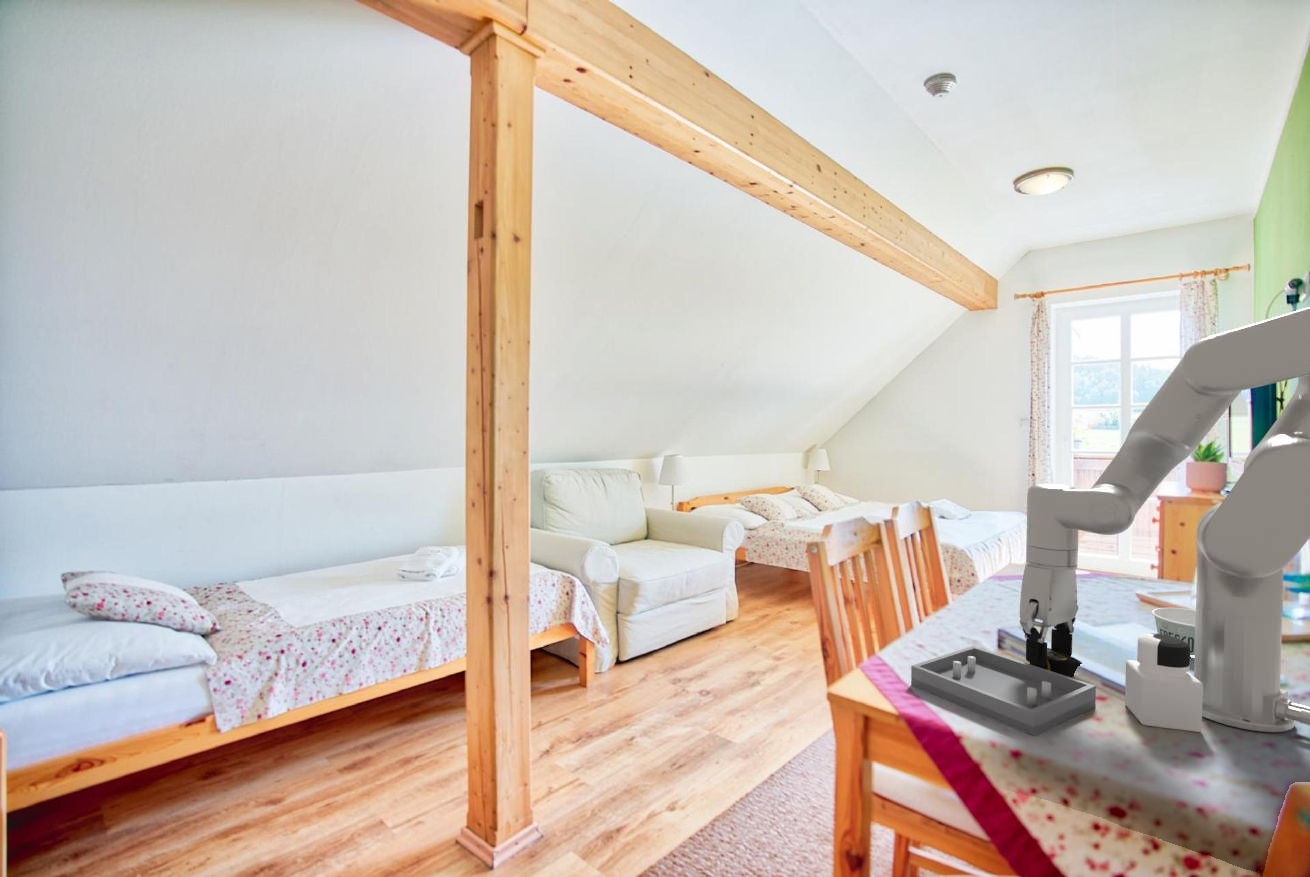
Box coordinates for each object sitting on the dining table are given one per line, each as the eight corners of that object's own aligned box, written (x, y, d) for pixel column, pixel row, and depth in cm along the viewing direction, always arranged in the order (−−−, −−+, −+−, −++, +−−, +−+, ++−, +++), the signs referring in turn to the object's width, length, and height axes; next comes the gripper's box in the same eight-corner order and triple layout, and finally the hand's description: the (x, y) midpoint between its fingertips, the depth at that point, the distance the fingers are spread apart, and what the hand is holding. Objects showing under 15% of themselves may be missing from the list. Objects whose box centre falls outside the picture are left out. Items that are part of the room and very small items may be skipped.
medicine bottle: (1180, 711, 97) (1182, 632, 97) (1202, 733, 90) (1205, 649, 90) (1124, 704, 99) (1125, 627, 99) (1142, 725, 93) (1143, 643, 92)
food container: (1243, 654, 120) (1244, 619, 119) (1221, 669, 113) (1222, 632, 113) (1164, 636, 130) (1165, 603, 129) (1140, 648, 123) (1141, 614, 123)
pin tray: (1095, 706, 99) (1095, 682, 99) (1034, 735, 90) (1034, 709, 90) (972, 663, 116) (973, 643, 116) (911, 684, 107) (911, 662, 107)
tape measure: (1085, 680, 109) (1086, 658, 108) (1054, 686, 106) (1054, 663, 106) (1049, 665, 115) (1050, 644, 115) (1019, 670, 113) (1019, 649, 113)
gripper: (1055, 547, 118) (1053, 642, 119) (1000, 558, 109) (998, 661, 110) (1101, 554, 112) (1098, 655, 112) (1046, 567, 103) (1043, 677, 103)
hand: (1048, 658), depth 111 cm, fingers open, 7 cm apart
